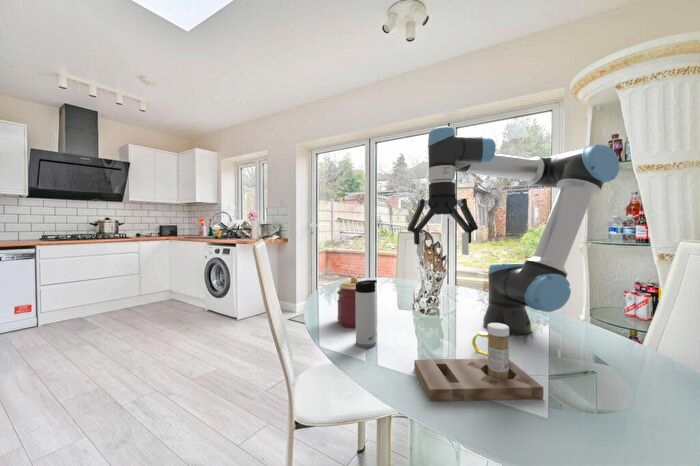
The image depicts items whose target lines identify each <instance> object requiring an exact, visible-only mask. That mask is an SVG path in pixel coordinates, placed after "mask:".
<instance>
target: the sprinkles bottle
mask: <svg viewBox="0 0 700 466" xmlns="http://www.w3.org/2000/svg"><path fill="white" fill-rule="evenodd" d="M486 330H487V331H486V332H487V333H488V338H487V341H488V343H487V353H488V355H487V359H488V375H487V376H490V377H493V378H496V379H509V378H508V370H509V360H510V354H509V353H510V350H509V349H510V348H509V336H510V334H509V327H508V326H507V325H505V324H501V323H489V324H488V325H487V328H486Z"/></svg>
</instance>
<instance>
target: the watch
mask: <svg viewBox="0 0 700 466" xmlns="http://www.w3.org/2000/svg"><path fill="white" fill-rule="evenodd" d="M478 337H481V338H486V339H488V332H487V331H478V333H476V334H475V335H474V337H473V338H472V343H471V344H472V347H473V349H474V350H475V351H476V353H478V354H481V355H485V356H488V351H487V352H486V351H483V350H480V349H479V348H478V346H477V344H476V338H478Z"/></svg>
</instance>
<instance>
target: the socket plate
mask: <svg viewBox="0 0 700 466" xmlns="http://www.w3.org/2000/svg"><path fill="white" fill-rule="evenodd" d="M413 361H414V364H413V366H414V368H413V369H414V373H416V376H417V378H418V379H419V381H420V383H421V386H422V388H423V389H424V392H425V394H426V396H427V399H428V401H429V402H445V401H446V402H453V401H456V402H461V401H462V402H463V401H501V400H502V401H504V400H509V401H512V400H513V401H515V400H543V399H544V386H542V384H540V383H539V382H538V381H536V380H535V378H533V377H531V376H530V375H529V374H528V373H526V372H525V371H524V370H523V369H522V368H520V367H519V366H518V365H516V364H515V363H514V362H513V361H511V360H510V359H509V370H508V379H496V378H493V377H490V376H488V358H450V359H449V358H447V359H446V358H443V359H439V358H438V359H433V358H431V359H414V360H413ZM444 374H445V375H446V376H447V378H448V377H449V378H448V379H449V380H450V382H449V381H448V380H447V378H446V376H444Z"/></svg>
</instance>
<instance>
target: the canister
mask: <svg viewBox="0 0 700 466" xmlns="http://www.w3.org/2000/svg"><path fill="white" fill-rule="evenodd" d="M360 281H361V280H358V277H357V276H351V278H350V280H346V281H343V282H342V283H341V284H339V288H340V289H338V290H337V291H336V293H337V295H338V299H337V301H336V302H337V323H338V325H339V326H341V327H344V328H348V329H349V328H354V329H356V303H355V293H356V292H355V291H356V283H357V282H360Z"/></svg>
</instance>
